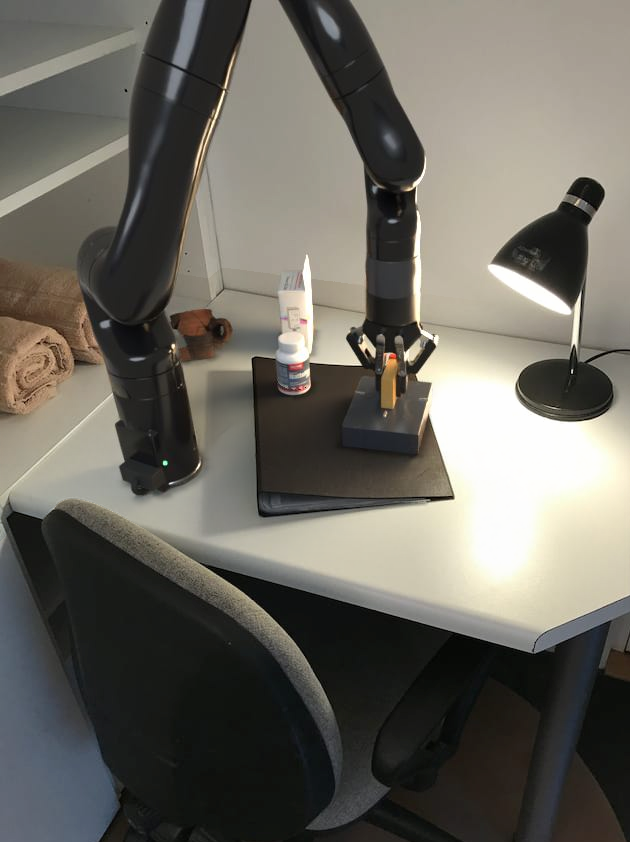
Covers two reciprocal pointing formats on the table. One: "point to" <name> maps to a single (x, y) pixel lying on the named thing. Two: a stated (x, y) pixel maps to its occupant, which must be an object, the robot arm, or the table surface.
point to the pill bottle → (292, 363)
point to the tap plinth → (387, 418)
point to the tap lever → (389, 383)
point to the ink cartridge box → (296, 303)
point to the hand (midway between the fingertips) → (391, 393)
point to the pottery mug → (200, 333)
